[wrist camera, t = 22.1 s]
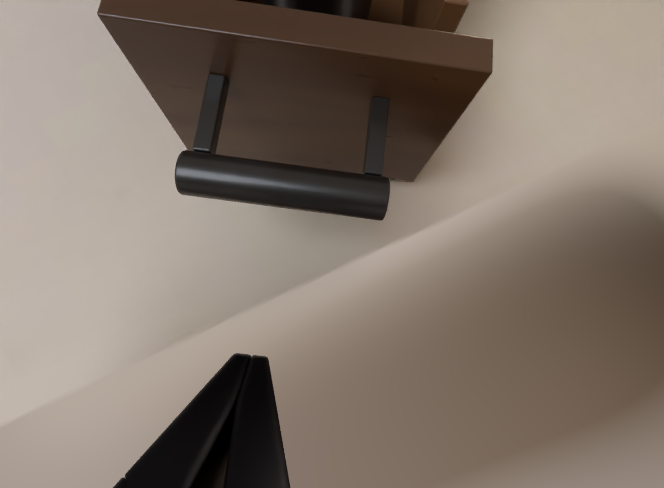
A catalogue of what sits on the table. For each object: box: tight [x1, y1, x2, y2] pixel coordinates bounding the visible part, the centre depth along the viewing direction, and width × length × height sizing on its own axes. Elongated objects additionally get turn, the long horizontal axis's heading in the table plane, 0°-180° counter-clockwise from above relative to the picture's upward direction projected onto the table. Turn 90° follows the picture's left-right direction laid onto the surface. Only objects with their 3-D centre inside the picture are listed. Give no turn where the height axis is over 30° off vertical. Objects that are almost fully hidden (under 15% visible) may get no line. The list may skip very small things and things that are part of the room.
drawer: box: [97, 0, 493, 221], centre depth 16 cm, size 19×11×8 cm, turn 173°
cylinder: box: [262, 0, 372, 20], centre depth 15 cm, size 4×4×6 cm
